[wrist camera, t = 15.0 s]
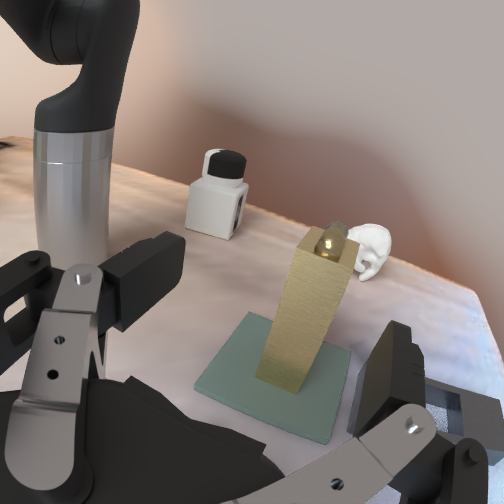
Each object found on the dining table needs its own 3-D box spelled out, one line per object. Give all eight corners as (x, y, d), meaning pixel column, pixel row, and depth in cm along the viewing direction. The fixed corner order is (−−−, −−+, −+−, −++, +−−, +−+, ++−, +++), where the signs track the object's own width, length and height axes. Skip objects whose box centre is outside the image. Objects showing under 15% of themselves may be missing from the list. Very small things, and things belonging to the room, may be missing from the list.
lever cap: (254, 377, 27) (301, 231, 20) (273, 344, 31) (317, 211, 25) (296, 394, 26) (360, 253, 19) (310, 360, 30) (365, 229, 24)
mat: (193, 389, 25) (194, 383, 25) (247, 316, 36) (249, 311, 35) (325, 444, 22) (329, 440, 22) (348, 356, 33) (351, 351, 32)
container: (240, 224, 58) (256, 154, 52) (228, 241, 51) (244, 161, 45) (200, 213, 58) (212, 144, 53) (183, 228, 52) (195, 149, 46)
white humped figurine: (397, 237, 43) (318, 218, 46) (381, 288, 47) (307, 269, 50) (393, 224, 49) (323, 207, 52) (379, 270, 53) (313, 253, 55)
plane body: (346, 431, 24) (358, 416, 23) (358, 374, 30) (368, 357, 29) (493, 465, 19) (509, 452, 18) (486, 413, 26) (499, 399, 25)
